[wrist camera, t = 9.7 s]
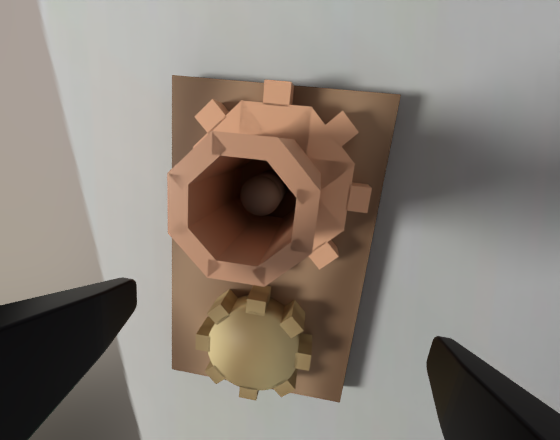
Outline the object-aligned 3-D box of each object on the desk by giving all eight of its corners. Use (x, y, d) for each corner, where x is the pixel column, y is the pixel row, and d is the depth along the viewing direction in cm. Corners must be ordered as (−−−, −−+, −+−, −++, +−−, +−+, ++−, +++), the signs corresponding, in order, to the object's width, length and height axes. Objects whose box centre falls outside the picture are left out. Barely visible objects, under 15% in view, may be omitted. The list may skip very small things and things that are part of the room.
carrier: (394, 98, 17) (431, 76, 11) (338, 386, 23) (344, 468, 17) (183, 80, 18) (121, 52, 13) (181, 355, 24) (136, 422, 18)
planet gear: (383, 94, 16) (436, 53, 9) (350, 280, 19) (368, 367, 12) (186, 78, 17) (87, 30, 10) (185, 256, 20) (108, 320, 13)
